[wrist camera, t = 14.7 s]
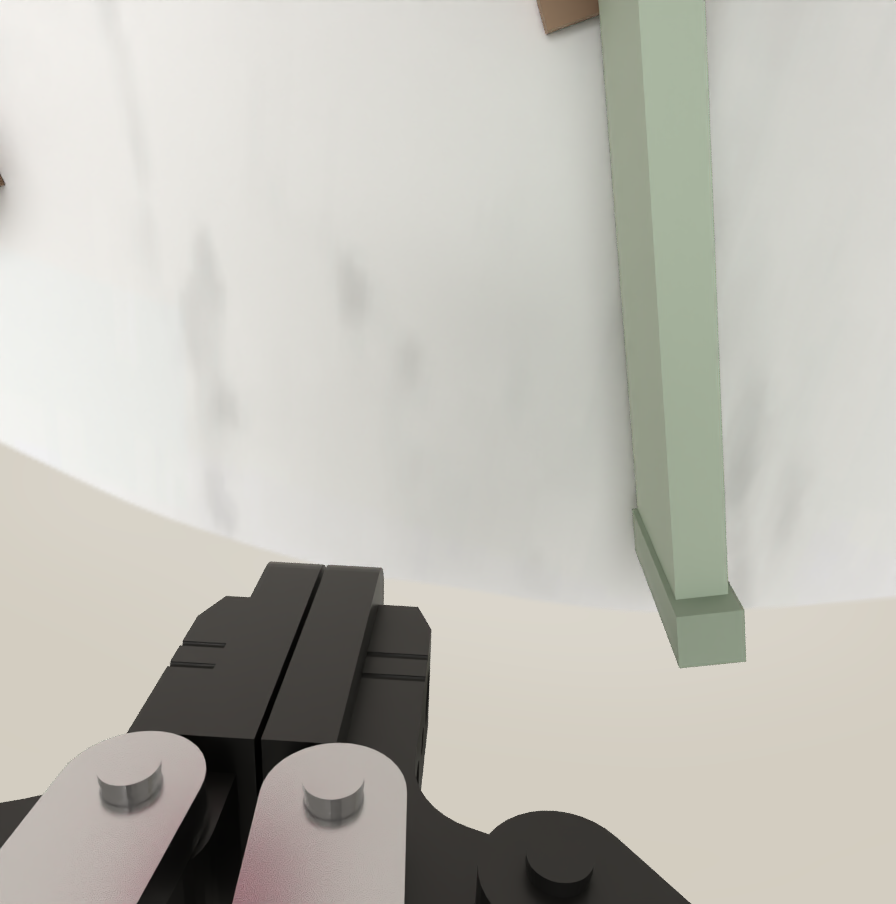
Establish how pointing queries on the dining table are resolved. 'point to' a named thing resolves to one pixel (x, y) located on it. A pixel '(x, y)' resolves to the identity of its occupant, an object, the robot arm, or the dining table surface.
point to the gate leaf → (671, 316)
